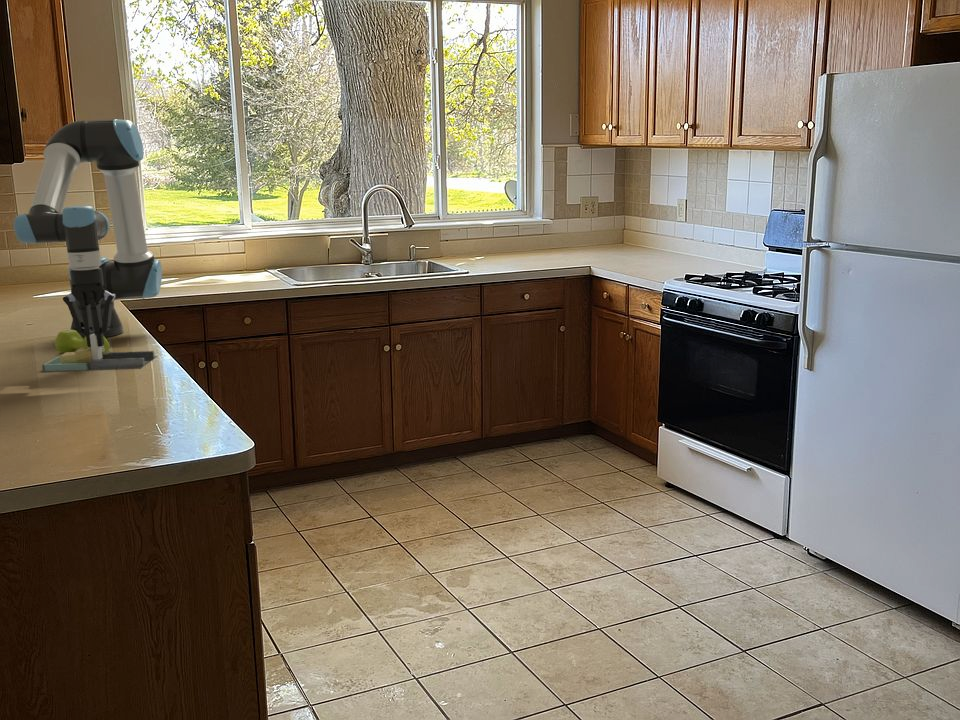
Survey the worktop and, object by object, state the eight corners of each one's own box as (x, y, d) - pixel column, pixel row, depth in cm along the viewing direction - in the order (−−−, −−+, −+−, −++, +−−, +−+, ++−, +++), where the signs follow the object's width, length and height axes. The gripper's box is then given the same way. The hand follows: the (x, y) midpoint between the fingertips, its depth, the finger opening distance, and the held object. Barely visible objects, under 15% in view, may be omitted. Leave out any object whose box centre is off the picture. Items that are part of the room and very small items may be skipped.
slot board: (105, 363, 246) (104, 350, 245) (158, 361, 246) (157, 348, 246) (85, 376, 233) (83, 362, 232) (141, 374, 233) (139, 360, 232)
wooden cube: (83, 362, 241) (81, 348, 240) (98, 362, 241) (96, 347, 240) (77, 366, 237) (75, 351, 236) (92, 365, 237) (90, 350, 236)
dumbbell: (53, 357, 256) (50, 332, 255) (80, 352, 262) (77, 327, 261) (87, 364, 247) (83, 338, 245) (113, 358, 253) (110, 332, 251)
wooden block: (68, 367, 241) (66, 352, 240) (83, 366, 241) (81, 351, 240) (61, 370, 237) (59, 355, 236) (77, 370, 237) (75, 355, 236)
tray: (62, 366, 245) (60, 355, 244) (103, 364, 245) (102, 353, 244) (43, 376, 234) (41, 365, 233) (87, 375, 234) (85, 363, 233)
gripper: (53, 270, 230) (66, 363, 235) (106, 269, 230) (117, 361, 235) (65, 267, 237) (78, 356, 242) (116, 265, 237) (128, 354, 243)
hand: (97, 358), depth 239 cm, fingers closed
